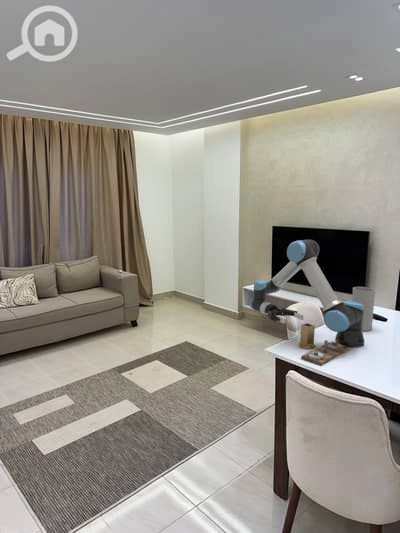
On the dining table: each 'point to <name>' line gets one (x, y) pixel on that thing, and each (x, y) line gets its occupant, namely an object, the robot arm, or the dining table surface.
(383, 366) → the dining table surface
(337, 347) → the board
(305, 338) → the yellow tan stepped cylinder
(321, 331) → the dining table surface
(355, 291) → the cylinder vase
